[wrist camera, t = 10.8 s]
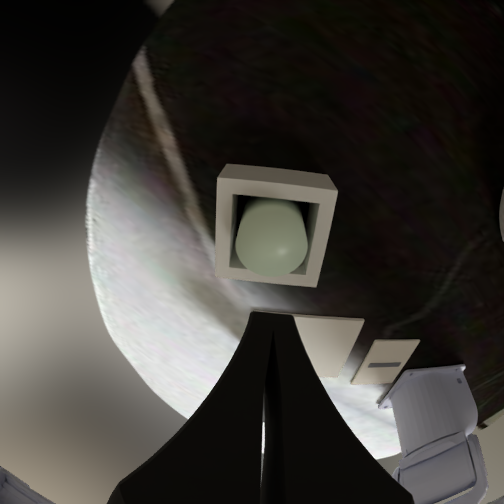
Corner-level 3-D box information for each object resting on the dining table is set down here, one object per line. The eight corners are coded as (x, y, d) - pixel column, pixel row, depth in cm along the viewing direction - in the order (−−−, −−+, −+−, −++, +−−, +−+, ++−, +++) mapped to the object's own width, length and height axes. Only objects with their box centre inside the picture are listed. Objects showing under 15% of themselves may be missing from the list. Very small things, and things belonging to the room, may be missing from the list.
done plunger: (305, 192, 17) (313, 218, 13) (296, 245, 19) (301, 279, 15) (245, 185, 17) (237, 209, 13) (241, 239, 19) (233, 272, 15)
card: (419, 339, 23) (420, 341, 23) (391, 381, 27) (391, 383, 26) (374, 339, 23) (375, 341, 23) (350, 383, 27) (351, 385, 26)
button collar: (327, 175, 16) (338, 190, 14) (311, 260, 19) (316, 287, 17) (226, 163, 16) (217, 177, 14) (222, 251, 19) (215, 277, 17)
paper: (363, 318, 22) (364, 321, 22) (337, 375, 26) (337, 377, 26) (253, 310, 22) (253, 312, 22) (246, 369, 26) (246, 372, 26)
